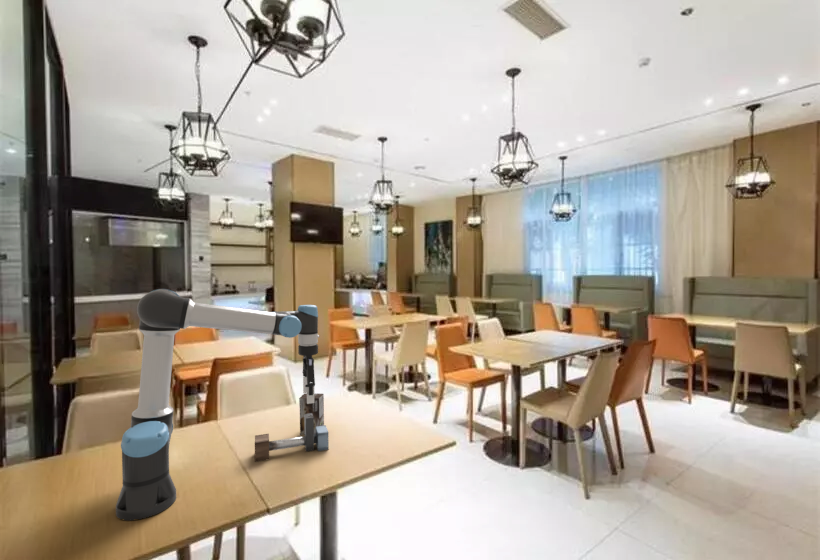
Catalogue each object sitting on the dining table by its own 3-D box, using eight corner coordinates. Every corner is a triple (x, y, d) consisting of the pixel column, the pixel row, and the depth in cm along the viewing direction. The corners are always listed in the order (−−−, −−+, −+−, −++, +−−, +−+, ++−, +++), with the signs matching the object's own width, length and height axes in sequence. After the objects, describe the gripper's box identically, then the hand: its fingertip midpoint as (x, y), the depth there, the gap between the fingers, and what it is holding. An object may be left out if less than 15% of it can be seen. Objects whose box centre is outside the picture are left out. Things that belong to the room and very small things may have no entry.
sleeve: (269, 459, 145) (269, 440, 145) (254, 461, 143) (254, 443, 143) (269, 451, 151) (268, 433, 151) (255, 453, 150) (255, 435, 149)
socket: (328, 449, 153) (328, 431, 153) (318, 451, 151) (318, 433, 151) (325, 442, 159) (325, 425, 159) (315, 443, 158) (315, 426, 158)
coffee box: (324, 429, 172) (324, 393, 172) (319, 435, 166) (319, 398, 165) (304, 428, 173) (304, 392, 173) (299, 434, 167) (298, 397, 166)
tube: (264, 458, 145) (264, 424, 145) (264, 452, 150) (264, 419, 150) (324, 448, 153) (323, 416, 153) (322, 443, 158) (322, 411, 157)
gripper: (322, 349, 142) (322, 406, 143) (314, 338, 165) (314, 387, 166) (301, 351, 139) (301, 409, 140) (295, 339, 163) (296, 389, 163)
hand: (308, 397), depth 153 cm, fingers open, 13 cm apart
